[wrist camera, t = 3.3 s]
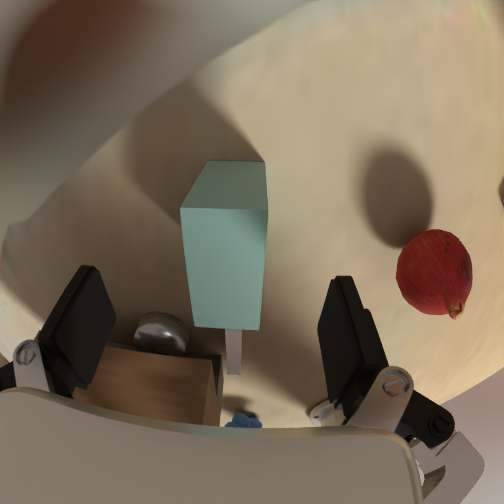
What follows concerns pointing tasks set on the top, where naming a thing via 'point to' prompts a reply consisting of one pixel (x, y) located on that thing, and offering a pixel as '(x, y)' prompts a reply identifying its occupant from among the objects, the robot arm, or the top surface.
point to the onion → (435, 273)
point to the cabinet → (157, 385)
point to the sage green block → (226, 249)
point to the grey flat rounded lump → (161, 335)
